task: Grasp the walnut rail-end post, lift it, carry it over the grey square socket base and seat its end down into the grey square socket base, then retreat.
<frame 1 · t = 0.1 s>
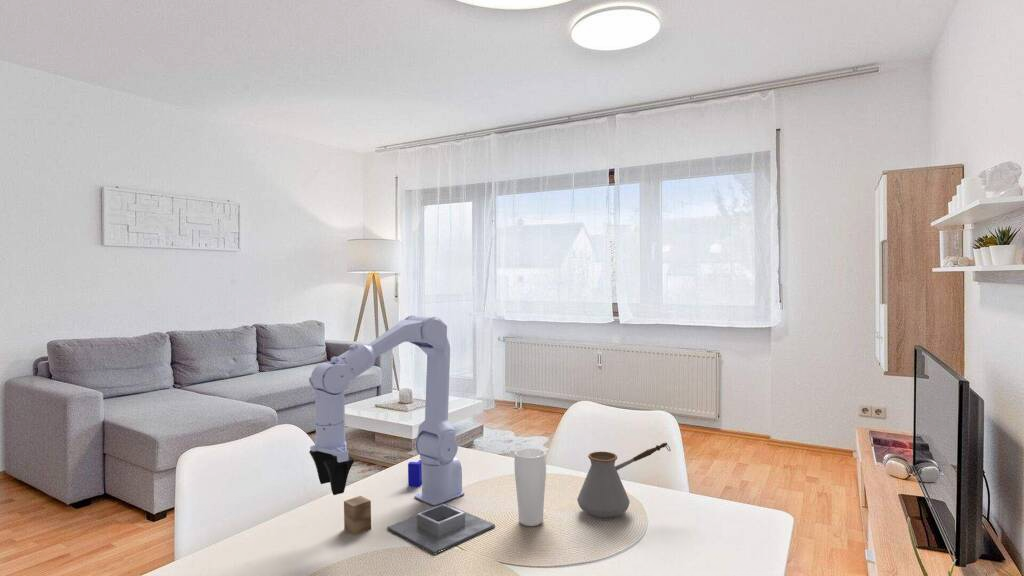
hand: (331, 488, 114), 10 cm above the table, fingers open, 7 cm apart
rail end post: (357, 529, 117), on the table
grey square socket base: (441, 528, 117), on the table
blue rectangular block: (419, 479, 147), on the table
drinking glass: (531, 522, 119), on the table
coffee pot: (624, 512, 124), on the table
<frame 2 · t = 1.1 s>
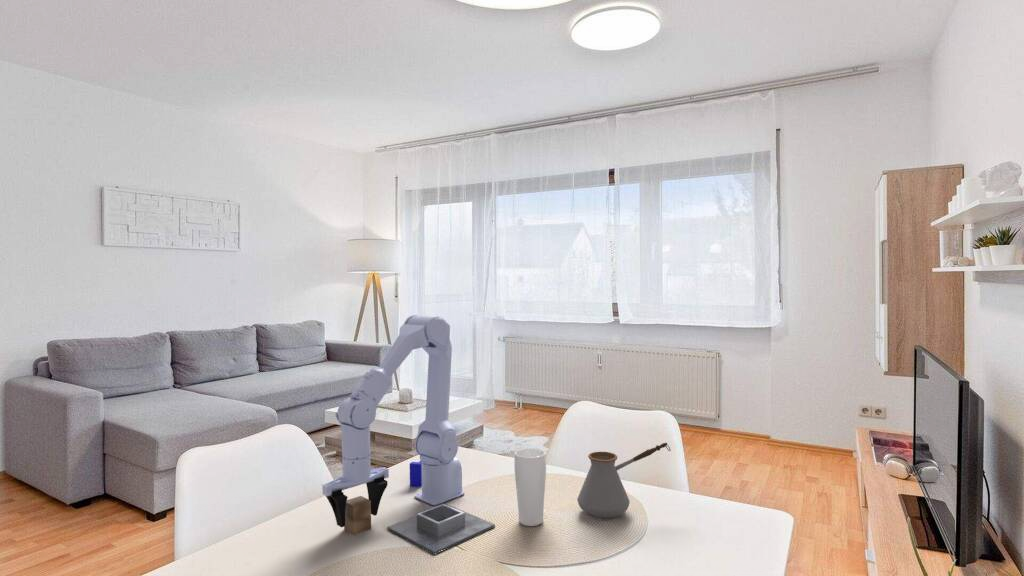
hand: (357, 519, 117), 2 cm above the table, fingers open, 7 cm apart
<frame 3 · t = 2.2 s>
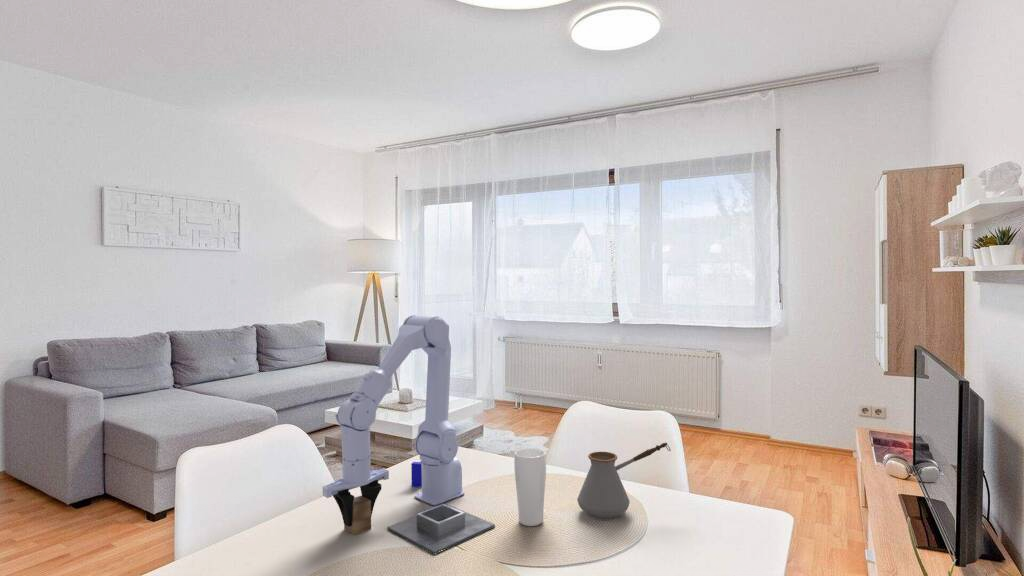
hand: (357, 521, 117), 2 cm above the table, fingers closed on rail end post, 4 cm apart
rail end post: (357, 528, 117), on the table, touching gripper
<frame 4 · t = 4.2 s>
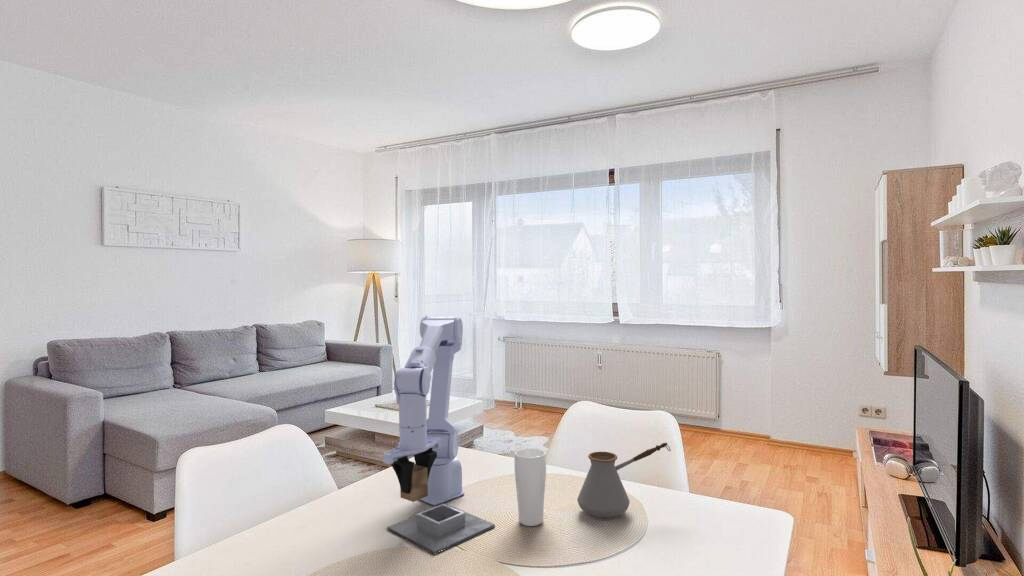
hand: (414, 489, 117), 8 cm above the table, fingers closed on rail end post, 4 cm apart
rail end post: (414, 496, 117), point 7 cm above the table, touching gripper
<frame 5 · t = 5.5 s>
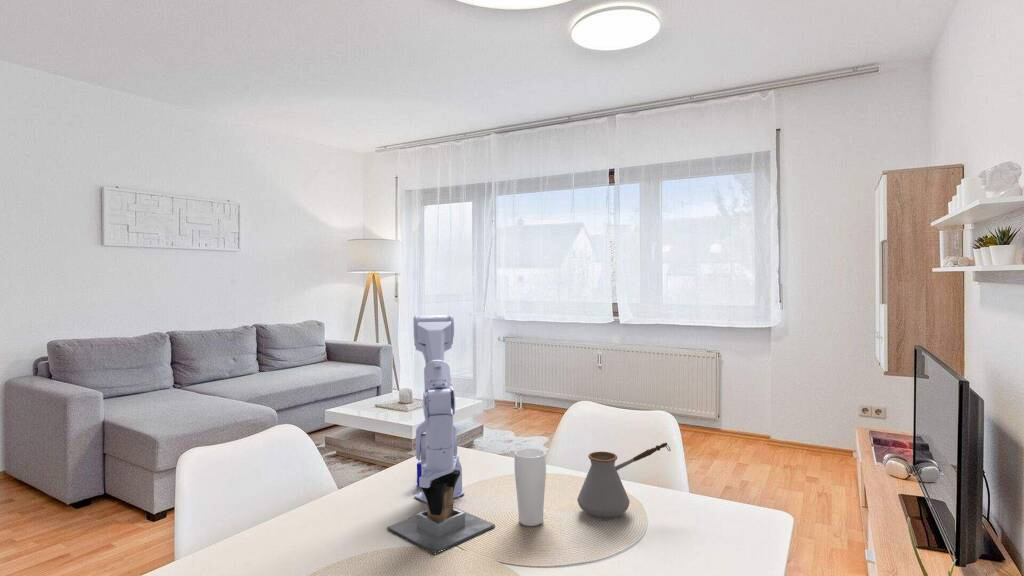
hand: (440, 509, 117), 4 cm above the table, fingers closed on rail end post, 4 cm apart
rail end post: (440, 517, 117), point 2 cm above the table, touching gripper
when the fingers open (4 cm above the table, at t = 6.3 s): rail end post drops 2 cm, resting on grey square socket base.
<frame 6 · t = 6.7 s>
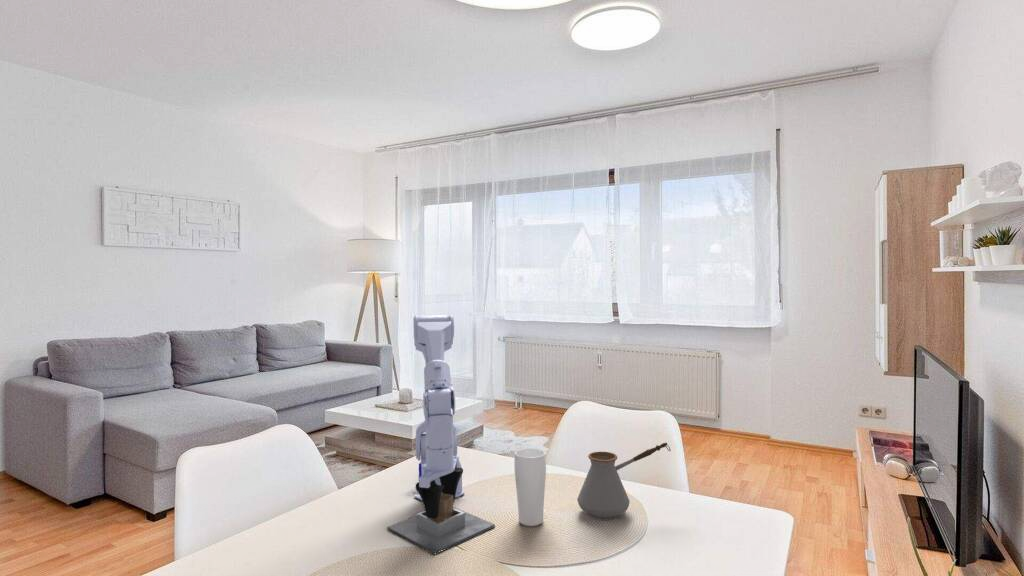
hand: (440, 509, 117), 4 cm above the table, fingers open, 7 cm apart
rail end post: (440, 525, 117), point 1 cm above the table, touching grey square socket base
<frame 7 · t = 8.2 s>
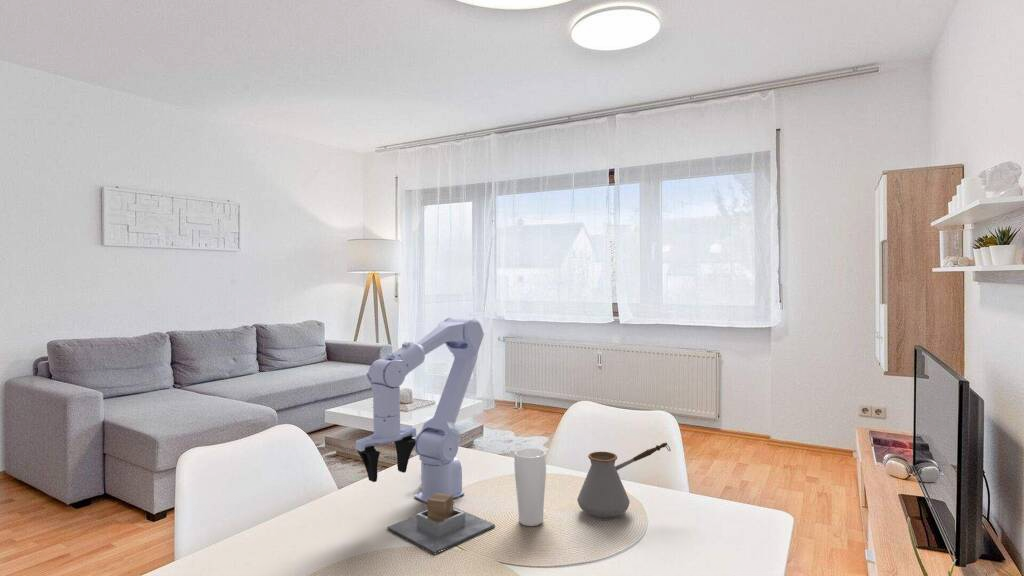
hand: (387, 476, 122), 9 cm above the table, fingers open, 7 cm apart
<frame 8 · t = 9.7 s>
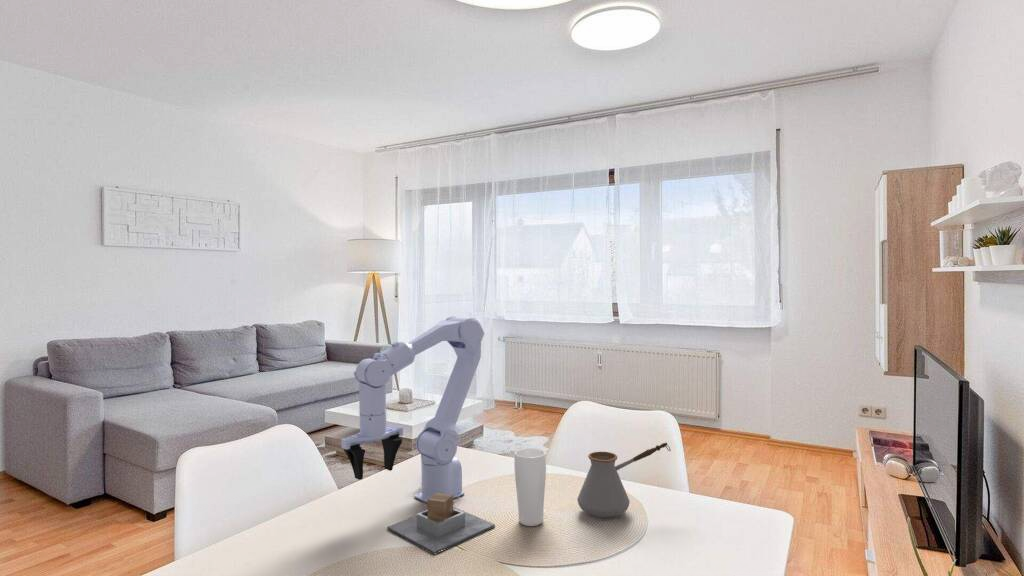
hand: (374, 473, 124), 9 cm above the table, fingers open, 7 cm apart
at the end: rail end post 0.0 cm off-centre on the grey square socket base, point 0.6 cm above the grey square socket base's base; rail end post tilted 0°; the gripper is holding nothing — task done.
